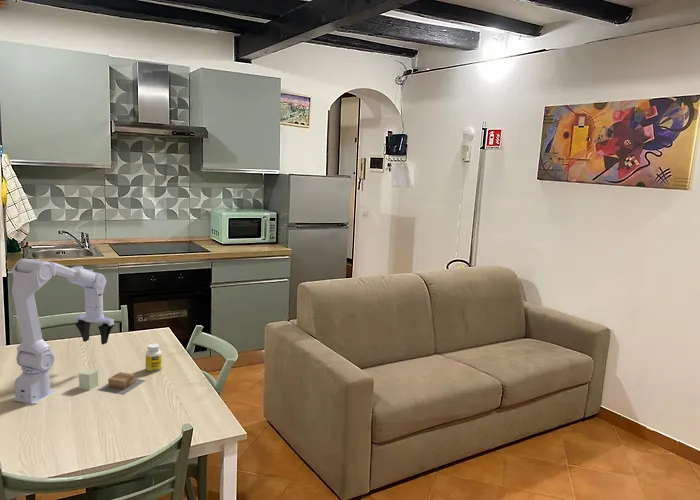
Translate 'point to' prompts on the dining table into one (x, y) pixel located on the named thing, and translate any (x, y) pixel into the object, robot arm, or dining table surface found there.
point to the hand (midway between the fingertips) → (95, 342)
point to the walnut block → (121, 380)
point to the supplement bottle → (153, 358)
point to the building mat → (119, 391)
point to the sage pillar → (88, 379)
